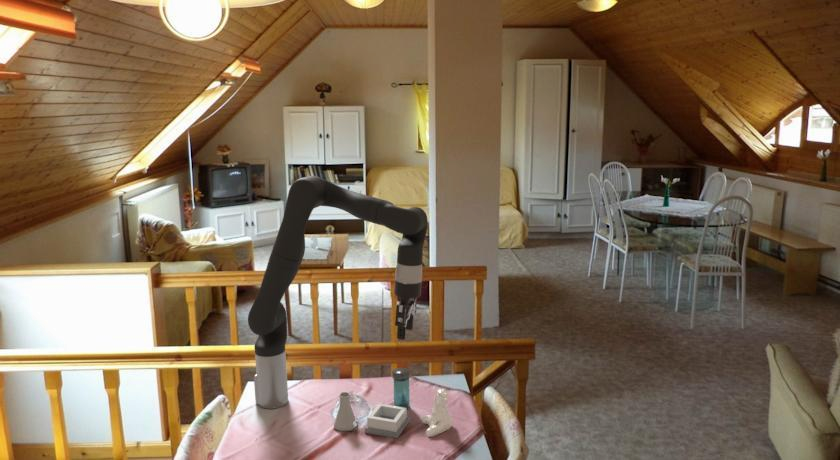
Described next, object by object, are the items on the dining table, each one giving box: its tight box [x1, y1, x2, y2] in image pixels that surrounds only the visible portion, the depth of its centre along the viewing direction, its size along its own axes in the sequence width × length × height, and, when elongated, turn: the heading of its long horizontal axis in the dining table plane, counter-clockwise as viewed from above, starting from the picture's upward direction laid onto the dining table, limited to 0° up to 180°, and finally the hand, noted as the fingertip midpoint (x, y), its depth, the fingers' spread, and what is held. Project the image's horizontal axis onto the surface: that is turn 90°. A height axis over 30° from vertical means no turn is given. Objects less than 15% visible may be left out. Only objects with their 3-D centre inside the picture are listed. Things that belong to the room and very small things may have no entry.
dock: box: [364, 403, 410, 439], centre depth 183 cm, size 10×10×4 cm
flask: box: [333, 391, 356, 432], centre depth 184 cm, size 7×7×10 cm
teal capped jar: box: [391, 367, 411, 411], centre depth 193 cm, size 6×6×12 cm
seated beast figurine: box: [421, 387, 454, 438], centre depth 182 cm, size 10×9×12 cm
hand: (405, 334), depth 178 cm, fingers open, 8 cm apart
